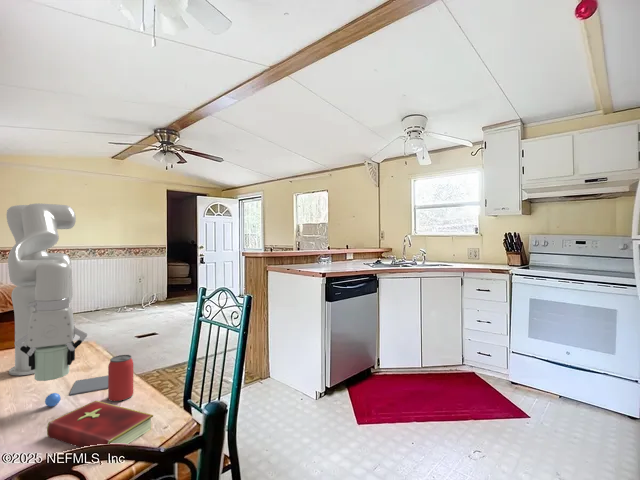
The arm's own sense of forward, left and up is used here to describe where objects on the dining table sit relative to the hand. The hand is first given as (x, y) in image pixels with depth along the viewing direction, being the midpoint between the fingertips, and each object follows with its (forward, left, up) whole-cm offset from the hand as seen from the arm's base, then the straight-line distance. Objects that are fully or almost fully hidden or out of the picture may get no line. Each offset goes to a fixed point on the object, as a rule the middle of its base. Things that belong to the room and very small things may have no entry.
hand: (52, 365), depth 96 cm
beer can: (+3, +17, -12) cm, 21 cm away
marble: (0, 0, -10) cm, 10 cm away
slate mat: (-11, +9, -11) cm, 18 cm away
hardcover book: (+23, +14, -12) cm, 29 cm away
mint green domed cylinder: (0, 0, -3) cm, 3 cm away
